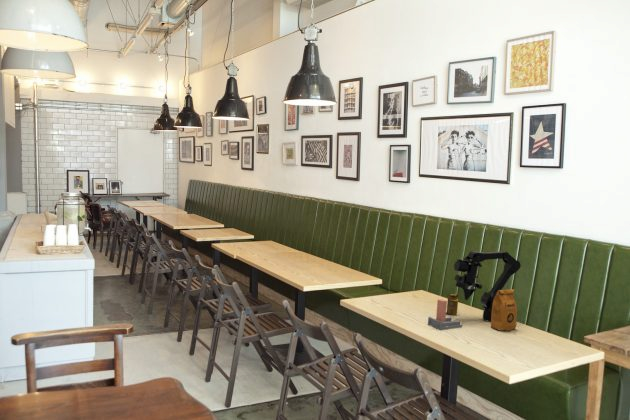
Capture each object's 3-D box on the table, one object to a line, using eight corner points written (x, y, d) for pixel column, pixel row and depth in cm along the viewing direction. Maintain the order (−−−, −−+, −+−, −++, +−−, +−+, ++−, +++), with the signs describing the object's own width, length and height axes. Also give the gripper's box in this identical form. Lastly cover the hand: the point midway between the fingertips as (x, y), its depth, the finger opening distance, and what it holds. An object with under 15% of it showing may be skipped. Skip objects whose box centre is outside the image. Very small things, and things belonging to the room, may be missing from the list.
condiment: (459, 314, 316) (461, 294, 315) (452, 317, 310) (453, 296, 309) (449, 311, 321) (450, 292, 320) (441, 314, 315) (442, 294, 314)
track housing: (448, 321, 299) (449, 314, 299) (461, 327, 290) (462, 319, 290) (427, 324, 292) (428, 317, 292) (440, 330, 283) (441, 322, 283)
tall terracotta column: (439, 322, 293) (441, 298, 291) (446, 325, 288) (447, 301, 287) (434, 322, 291) (436, 299, 290) (441, 325, 286) (443, 301, 285)
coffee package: (518, 331, 289) (522, 291, 287) (500, 332, 284) (503, 292, 283) (506, 325, 298) (509, 287, 296) (487, 326, 294) (491, 287, 292)
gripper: (468, 270, 314) (462, 295, 315) (450, 269, 301) (444, 296, 302) (484, 274, 306) (479, 301, 306) (467, 274, 293) (461, 301, 294)
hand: (466, 299), depth 302 cm, fingers closed
